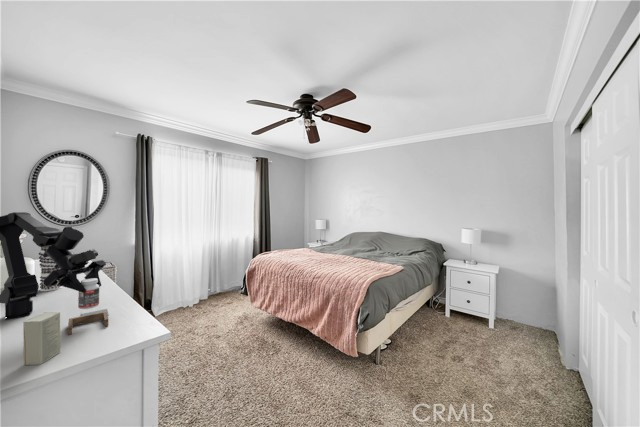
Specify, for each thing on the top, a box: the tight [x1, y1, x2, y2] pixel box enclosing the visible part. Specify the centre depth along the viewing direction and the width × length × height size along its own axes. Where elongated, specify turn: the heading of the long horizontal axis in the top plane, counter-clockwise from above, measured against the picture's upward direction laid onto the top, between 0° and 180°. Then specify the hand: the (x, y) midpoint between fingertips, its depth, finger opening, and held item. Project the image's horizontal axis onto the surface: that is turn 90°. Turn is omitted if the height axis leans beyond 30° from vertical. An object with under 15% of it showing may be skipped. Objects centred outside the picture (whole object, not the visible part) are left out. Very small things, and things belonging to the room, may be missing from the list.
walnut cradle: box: [67, 310, 109, 336], centre depth 93 cm, size 10×10×2 cm
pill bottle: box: [77, 278, 100, 310], centre depth 95 cm, size 6×6×10 cm
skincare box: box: [23, 311, 61, 366], centre depth 73 cm, size 6×4×12 cm
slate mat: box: [80, 308, 109, 317], centre depth 102 cm, size 8×8×1 cm
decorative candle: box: [38, 246, 64, 292], centre depth 133 cm, size 9×9×25 cm
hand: (92, 289), depth 95 cm, fingers closed on pill bottle, 6 cm apart
